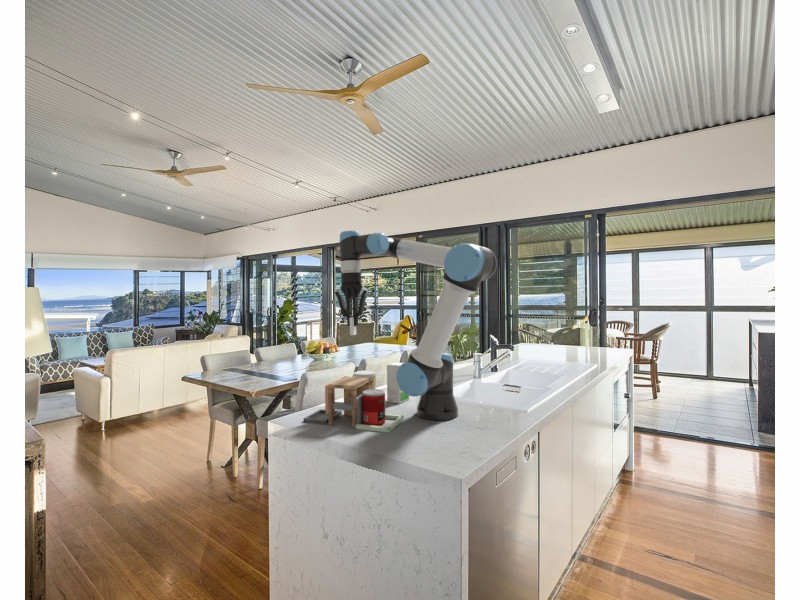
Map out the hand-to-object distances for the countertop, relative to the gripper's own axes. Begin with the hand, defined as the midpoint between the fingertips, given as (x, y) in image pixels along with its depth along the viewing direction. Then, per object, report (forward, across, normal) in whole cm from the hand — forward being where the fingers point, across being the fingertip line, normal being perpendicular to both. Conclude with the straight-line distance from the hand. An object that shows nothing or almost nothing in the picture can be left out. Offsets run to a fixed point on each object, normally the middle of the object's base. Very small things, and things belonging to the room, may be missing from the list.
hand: (353, 334), depth 158 cm
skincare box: (+30, -11, -20) cm, 37 cm away
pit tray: (+29, +9, +9) cm, 32 cm away
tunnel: (+30, -2, +10) cm, 31 cm away
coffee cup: (+29, +2, -16) cm, 34 cm away
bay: (+30, -12, +11) cm, 34 cm away
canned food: (+30, -10, +10) cm, 34 cm away
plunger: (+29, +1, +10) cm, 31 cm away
